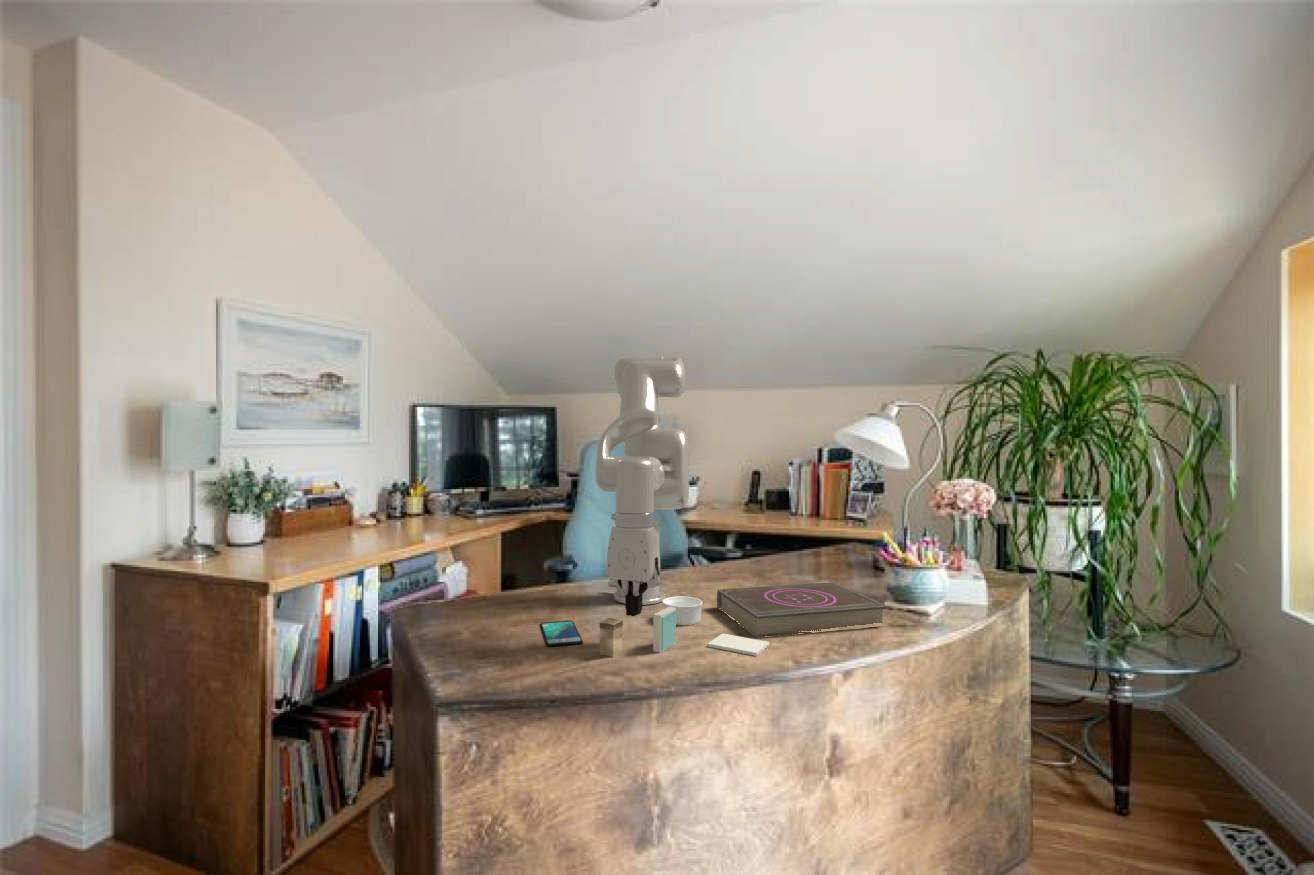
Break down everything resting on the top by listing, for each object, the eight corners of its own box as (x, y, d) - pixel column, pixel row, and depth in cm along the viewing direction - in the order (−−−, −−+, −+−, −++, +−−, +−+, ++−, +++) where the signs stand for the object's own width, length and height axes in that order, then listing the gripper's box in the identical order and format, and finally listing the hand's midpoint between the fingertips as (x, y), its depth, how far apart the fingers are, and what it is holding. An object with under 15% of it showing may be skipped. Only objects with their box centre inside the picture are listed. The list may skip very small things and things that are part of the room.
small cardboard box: (599, 654, 118) (599, 622, 118) (608, 649, 120) (609, 617, 120) (613, 657, 116) (613, 624, 116) (622, 652, 119) (622, 620, 119)
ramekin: (660, 615, 143) (660, 596, 143) (699, 614, 144) (699, 595, 144) (664, 627, 134) (664, 607, 134) (705, 626, 135) (705, 606, 135)
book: (756, 640, 127) (756, 615, 127) (716, 610, 149) (716, 588, 149) (887, 628, 136) (887, 605, 136) (831, 601, 157) (832, 581, 157)
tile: (653, 651, 120) (653, 614, 120) (668, 642, 125) (668, 606, 125) (661, 652, 119) (661, 615, 119) (676, 643, 124) (676, 607, 124)
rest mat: (707, 646, 122) (707, 643, 122) (722, 636, 128) (722, 633, 128) (756, 656, 117) (756, 652, 117) (769, 645, 123) (769, 641, 123)
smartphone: (546, 645, 121) (539, 622, 136) (546, 649, 121) (539, 625, 136) (583, 642, 123) (573, 619, 137) (583, 646, 123) (573, 623, 137)
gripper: (592, 520, 125) (591, 613, 125) (658, 526, 118) (657, 624, 118) (613, 516, 132) (612, 604, 132) (677, 521, 124) (676, 615, 124)
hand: (633, 614), depth 125 cm, fingers closed
